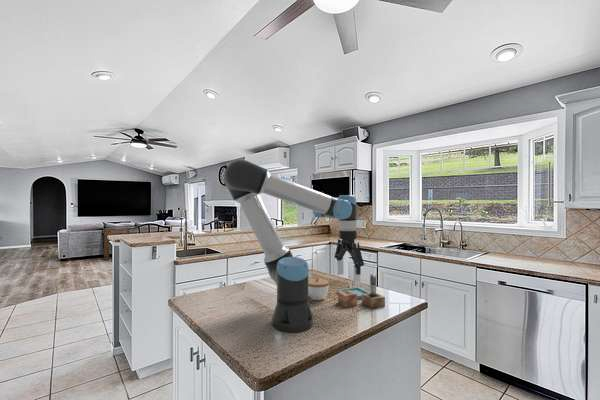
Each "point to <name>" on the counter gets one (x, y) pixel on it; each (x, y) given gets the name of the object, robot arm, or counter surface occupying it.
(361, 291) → the tray
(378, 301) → the block
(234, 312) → the counter surface
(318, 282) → the lidded jar
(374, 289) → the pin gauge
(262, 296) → the counter surface
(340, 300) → the block
